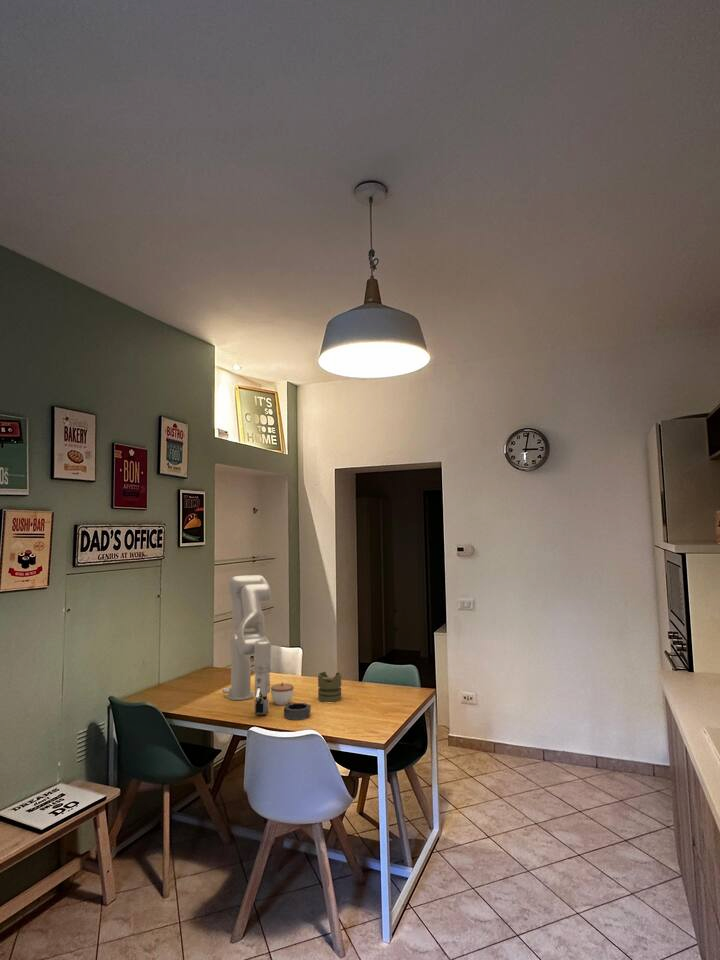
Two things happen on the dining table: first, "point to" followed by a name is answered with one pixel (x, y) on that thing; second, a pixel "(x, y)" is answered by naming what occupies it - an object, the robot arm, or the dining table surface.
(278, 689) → the lidded jar
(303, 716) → the dark grey round ring
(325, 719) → the dining table surface
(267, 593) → the robot arm
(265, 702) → the cap
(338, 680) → the olive green vest
